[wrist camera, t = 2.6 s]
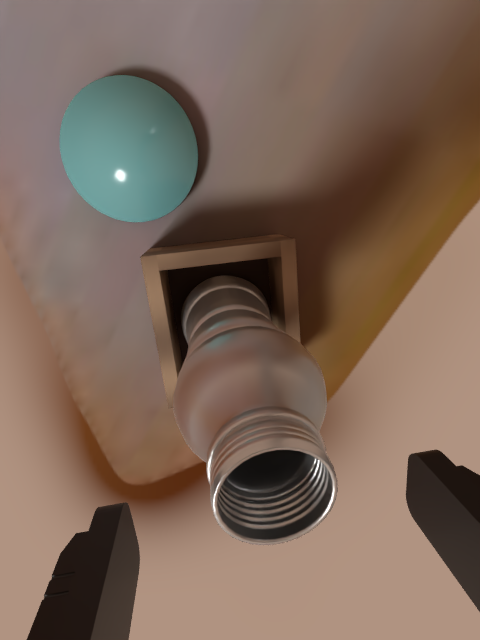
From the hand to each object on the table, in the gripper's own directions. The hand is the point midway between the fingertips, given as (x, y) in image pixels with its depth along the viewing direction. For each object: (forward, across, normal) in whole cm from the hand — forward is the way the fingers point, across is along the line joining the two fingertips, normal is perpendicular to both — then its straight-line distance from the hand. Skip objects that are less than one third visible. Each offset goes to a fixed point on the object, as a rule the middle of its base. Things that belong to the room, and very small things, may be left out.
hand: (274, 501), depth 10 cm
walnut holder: (+20, 0, 0) cm, 20 cm away
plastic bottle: (+20, 0, 0) cm, 20 cm away
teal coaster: (+20, +5, -12) cm, 24 cm away
